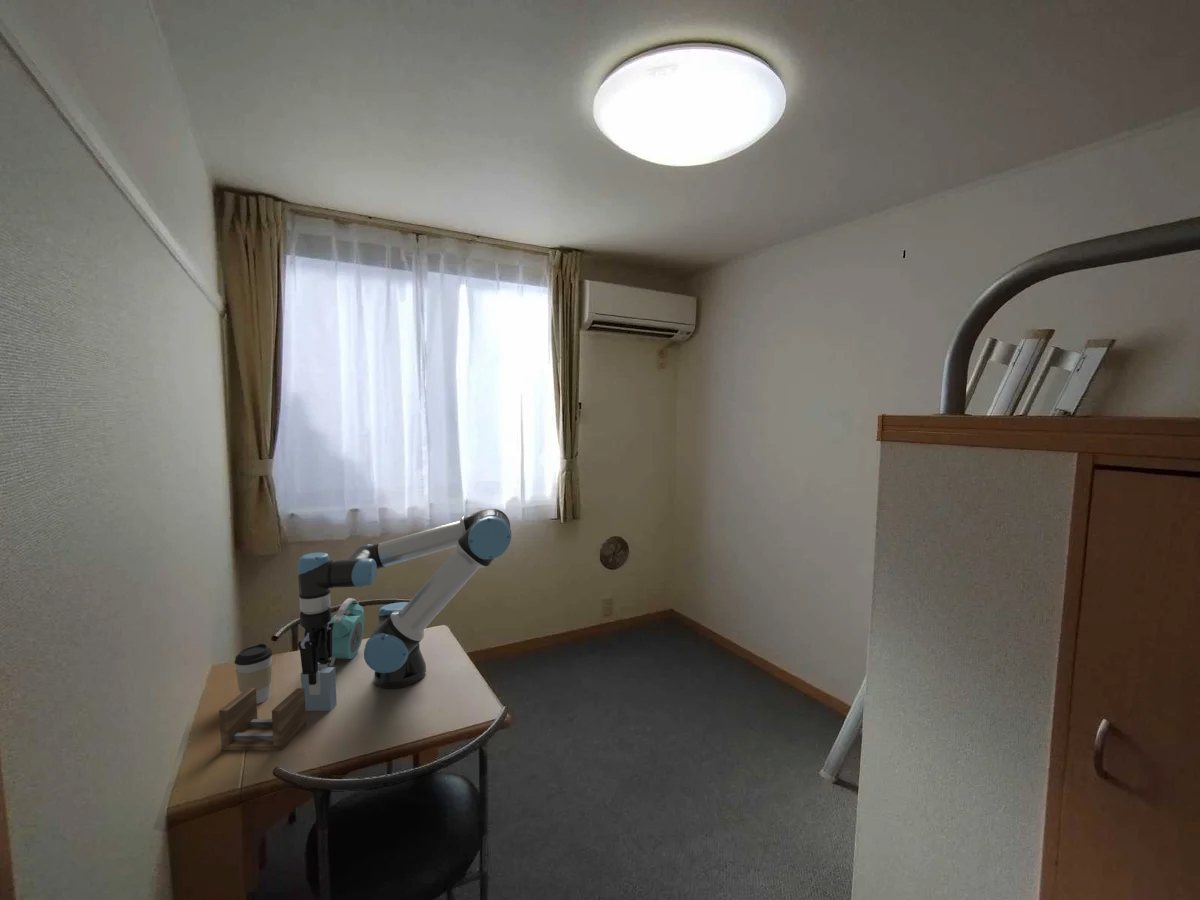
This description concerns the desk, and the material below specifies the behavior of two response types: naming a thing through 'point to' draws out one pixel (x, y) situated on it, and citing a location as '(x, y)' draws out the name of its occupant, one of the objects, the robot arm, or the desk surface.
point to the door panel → (328, 691)
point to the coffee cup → (255, 670)
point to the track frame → (261, 722)
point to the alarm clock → (347, 630)
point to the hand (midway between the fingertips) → (318, 690)
